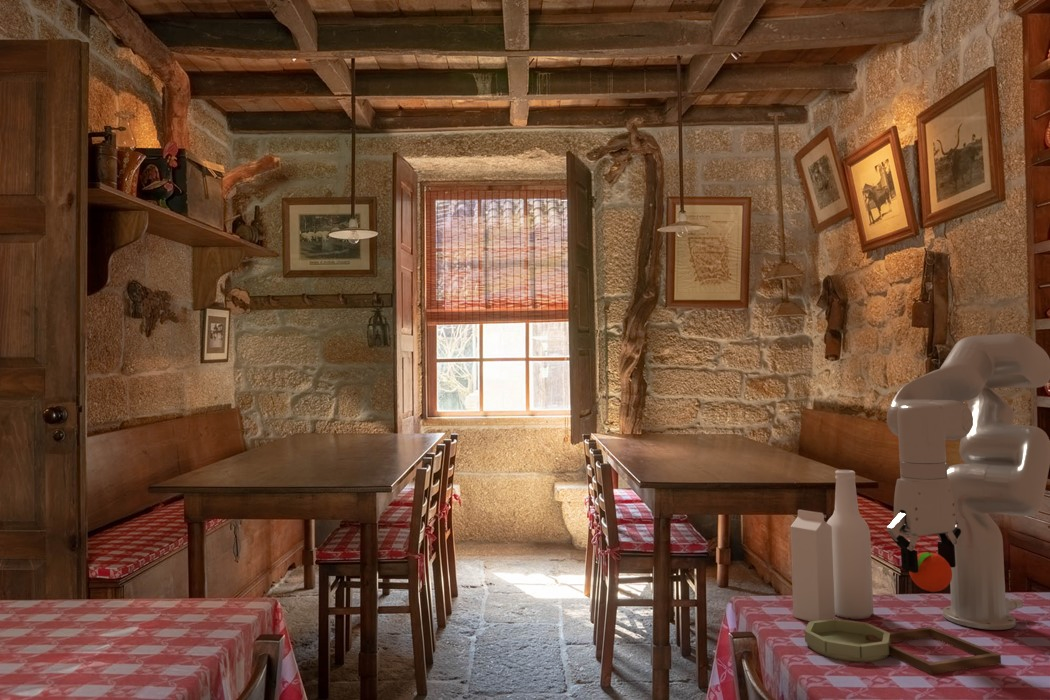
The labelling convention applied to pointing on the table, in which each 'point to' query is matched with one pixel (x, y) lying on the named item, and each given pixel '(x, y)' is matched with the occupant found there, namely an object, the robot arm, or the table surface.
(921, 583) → the clementine
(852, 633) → the dish
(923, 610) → the table surface
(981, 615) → the robot arm
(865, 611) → the alcohol
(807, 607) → the milk
